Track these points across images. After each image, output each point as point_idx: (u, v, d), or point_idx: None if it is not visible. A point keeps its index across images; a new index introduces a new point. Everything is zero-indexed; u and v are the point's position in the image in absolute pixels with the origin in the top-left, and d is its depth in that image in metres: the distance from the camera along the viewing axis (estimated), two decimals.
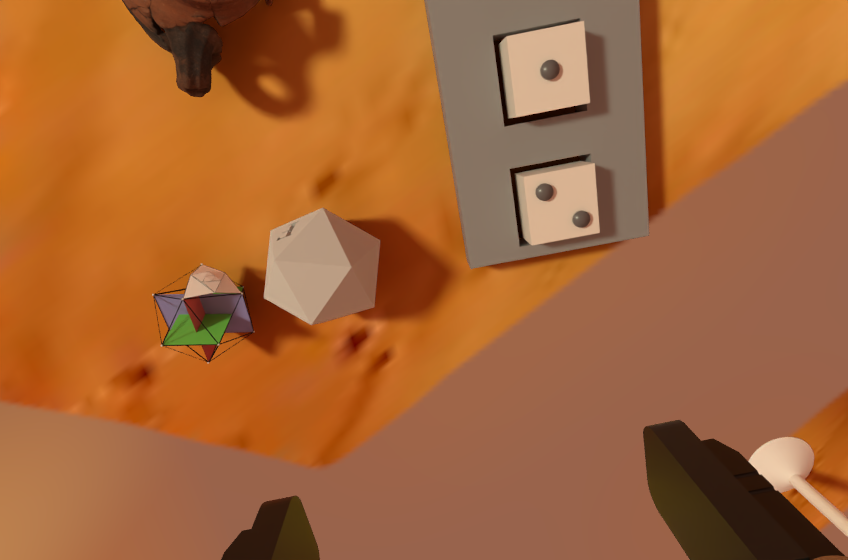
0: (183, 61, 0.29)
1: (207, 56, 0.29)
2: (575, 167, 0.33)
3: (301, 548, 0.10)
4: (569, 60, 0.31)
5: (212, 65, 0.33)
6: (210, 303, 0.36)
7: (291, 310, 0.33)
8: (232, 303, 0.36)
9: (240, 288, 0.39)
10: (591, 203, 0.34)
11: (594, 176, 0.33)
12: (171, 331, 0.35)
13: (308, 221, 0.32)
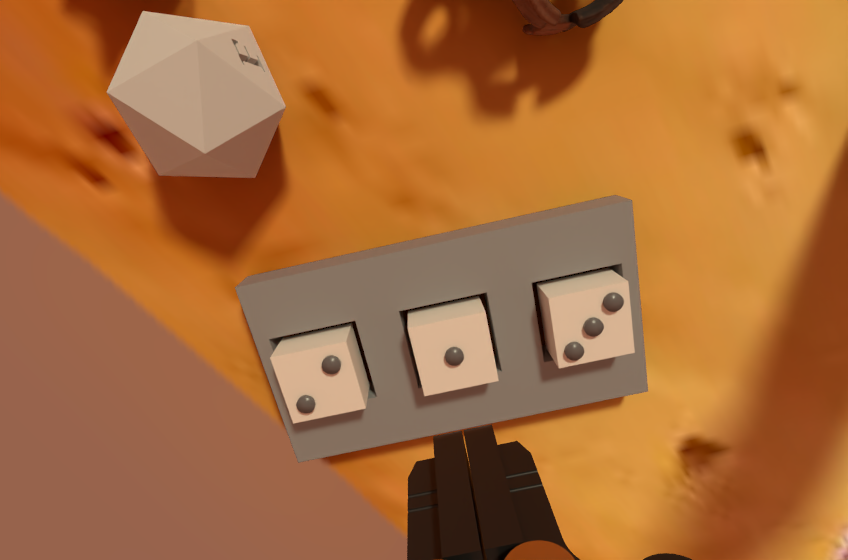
0: None
1: None
2: (360, 390, 0.31)
3: (470, 478, 0.11)
4: (462, 372, 0.31)
5: None
6: None
7: (126, 59, 0.23)
8: None
9: None
10: (323, 411, 0.31)
11: (352, 410, 0.31)
12: None
13: (263, 88, 0.24)
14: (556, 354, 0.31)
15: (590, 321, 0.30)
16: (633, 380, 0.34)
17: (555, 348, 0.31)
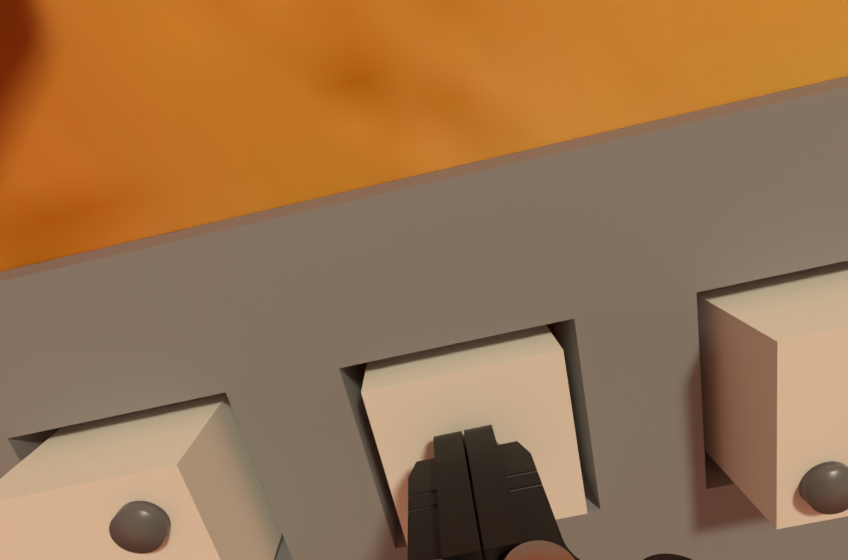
0: None
1: None
2: None
3: (471, 478, 0.11)
4: None
5: None
6: None
7: None
8: None
9: None
10: None
11: None
12: None
13: None
14: (772, 492, 0.11)
15: None
16: None
17: (771, 477, 0.11)
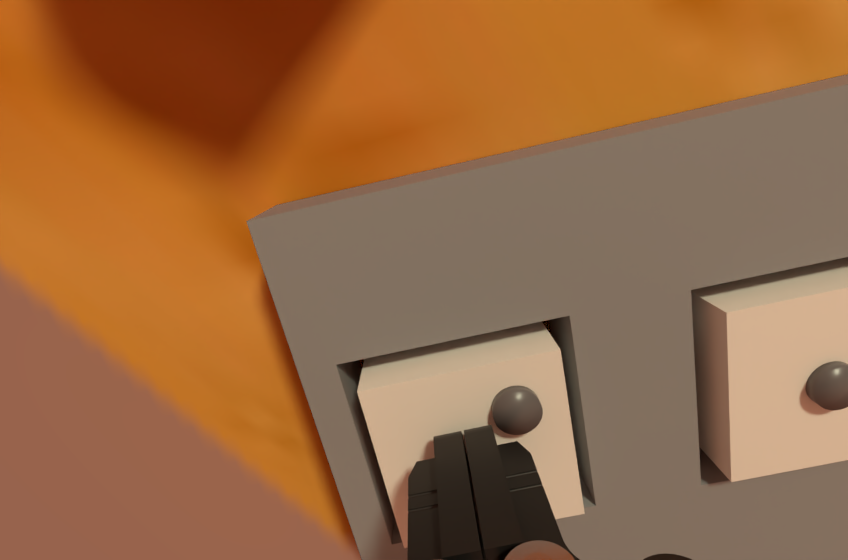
0: None
1: None
2: (575, 472, 0.12)
3: (470, 478, 0.11)
4: (840, 426, 0.12)
5: None
6: None
7: None
8: None
9: None
10: None
11: None
12: None
13: None
14: None
15: None
16: None
17: None
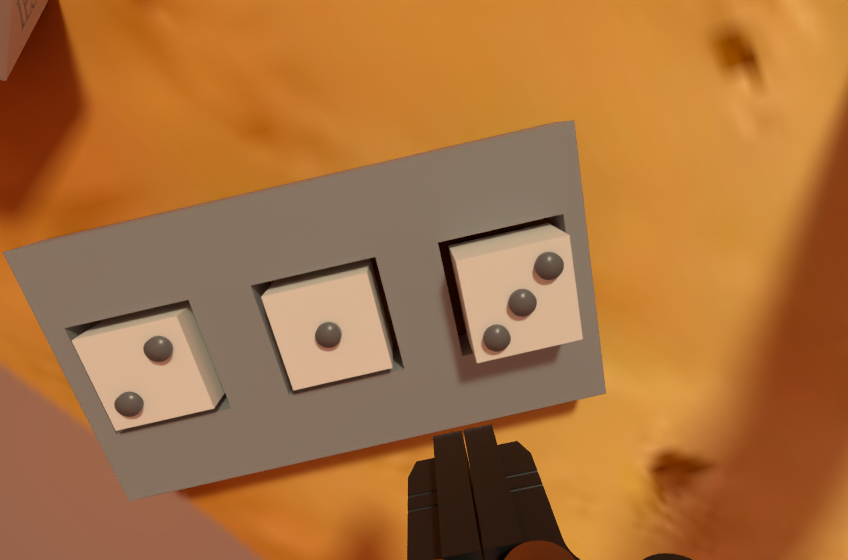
0: None
1: None
2: (204, 384, 0.23)
3: (471, 478, 0.11)
4: (343, 357, 0.23)
5: None
6: None
7: None
8: None
9: None
10: (156, 413, 0.23)
11: (196, 411, 0.23)
12: None
13: None
14: (472, 343, 0.22)
15: (517, 294, 0.21)
16: (585, 379, 0.25)
17: (471, 334, 0.21)
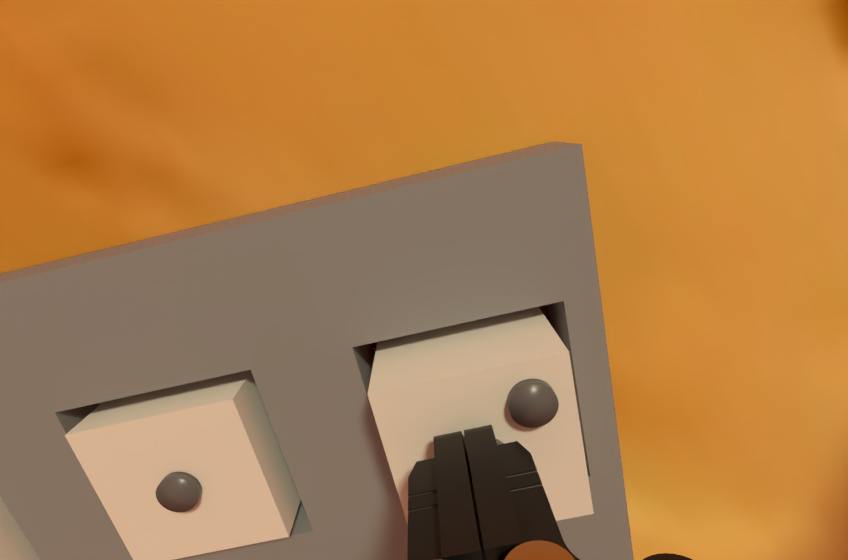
0: None
1: None
2: (0, 556, 0.15)
3: (471, 478, 0.11)
4: (208, 522, 0.14)
5: None
6: None
7: None
8: None
9: None
10: None
11: None
12: None
13: None
14: None
15: None
16: (602, 546, 0.16)
17: None
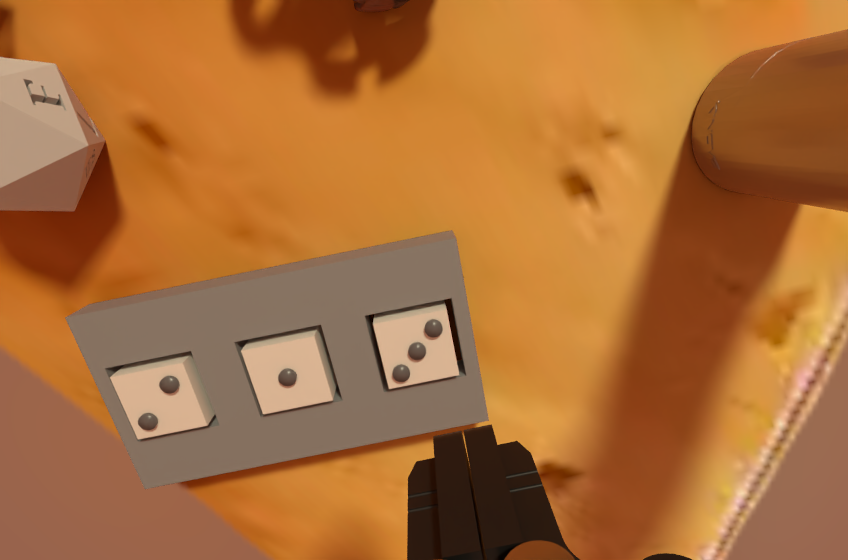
0: None
1: None
2: (200, 409, 0.33)
3: (470, 478, 0.11)
4: (298, 392, 0.33)
5: None
6: None
7: None
8: None
9: None
10: (166, 428, 0.33)
11: (194, 427, 0.33)
12: None
13: (59, 128, 0.25)
14: (386, 376, 0.33)
15: (413, 346, 0.32)
16: (473, 410, 0.34)
17: None
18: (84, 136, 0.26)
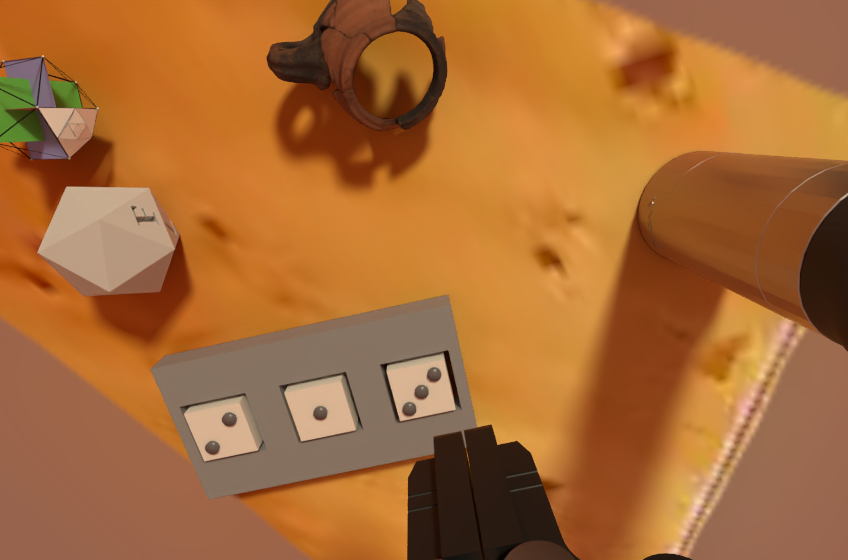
0: (290, 59, 0.30)
1: (302, 80, 0.31)
2: (253, 437, 0.42)
3: (471, 478, 0.11)
4: (328, 424, 0.41)
5: None
6: None
7: (52, 227, 0.32)
8: (56, 144, 0.33)
9: None
10: (226, 452, 0.42)
11: (248, 451, 0.42)
12: None
13: (155, 240, 0.34)
14: None
15: (418, 388, 0.40)
16: None
17: None
18: (171, 242, 0.35)
